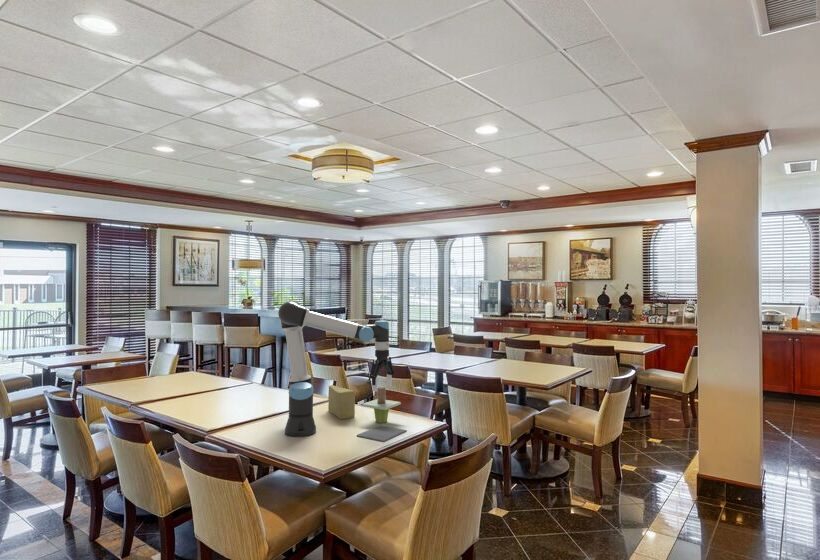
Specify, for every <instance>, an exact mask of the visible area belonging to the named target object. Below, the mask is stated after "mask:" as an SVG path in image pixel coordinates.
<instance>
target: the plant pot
mask: <svg viewBox="0 0 820 560" xmlns="http://www.w3.org/2000/svg"><path fill="white" fill-rule="evenodd" d="M373 410H374V417H375V422H376V423H379V424H383V423H387V422H388V417H389V411H390V408H389V409H387V410H382V409H376V408H373Z"/></svg>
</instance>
